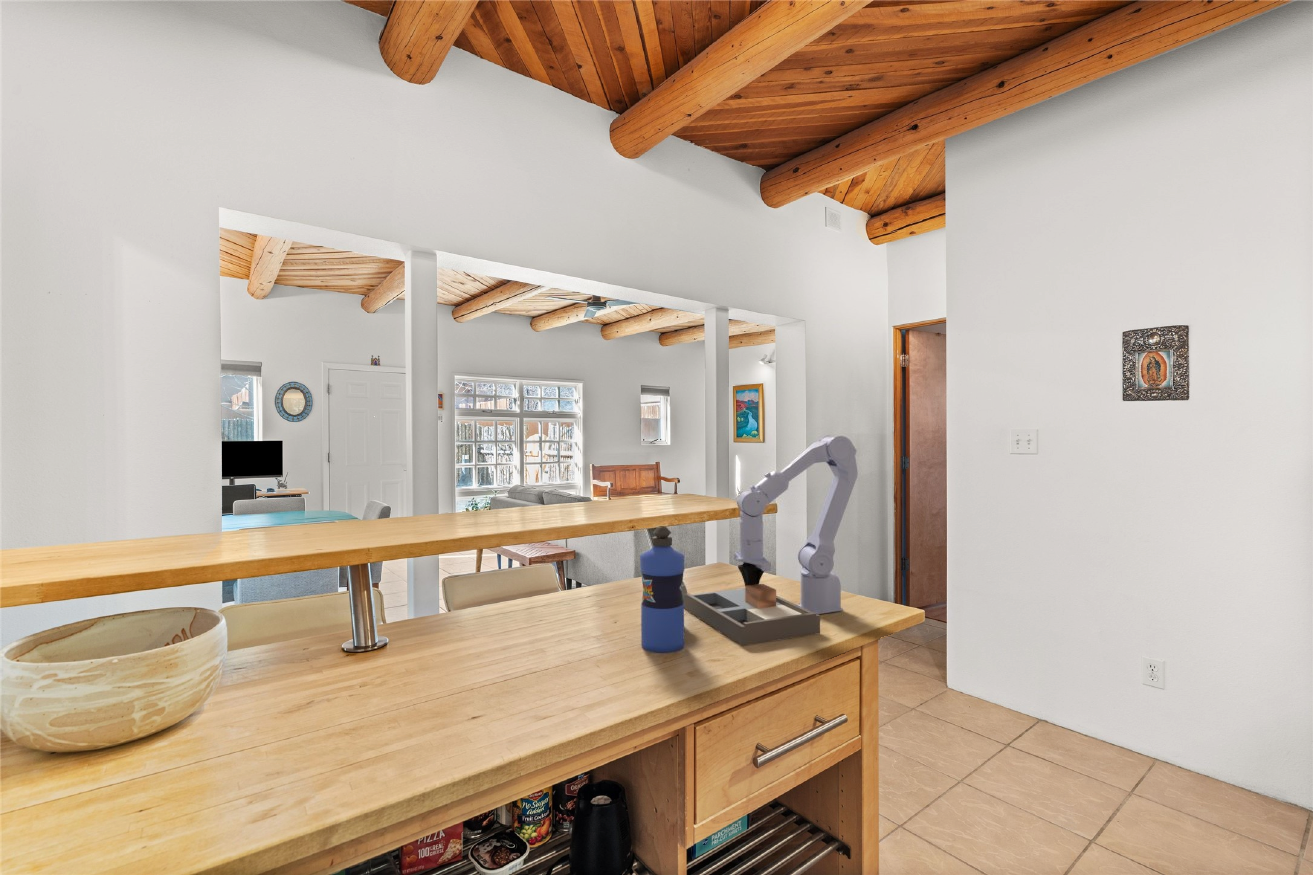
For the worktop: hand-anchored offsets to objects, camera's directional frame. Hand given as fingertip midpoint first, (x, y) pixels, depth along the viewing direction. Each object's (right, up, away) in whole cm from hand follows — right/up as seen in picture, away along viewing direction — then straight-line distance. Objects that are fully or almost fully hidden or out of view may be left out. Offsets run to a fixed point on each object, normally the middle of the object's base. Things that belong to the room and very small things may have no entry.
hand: (751, 593), depth 151 cm
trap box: (-2, -5, -6) cm, 8 cm away
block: (+1, -1, -4) cm, 5 cm away
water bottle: (-22, -5, -23) cm, 33 cm away
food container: (-20, -5, -11) cm, 23 cm away
